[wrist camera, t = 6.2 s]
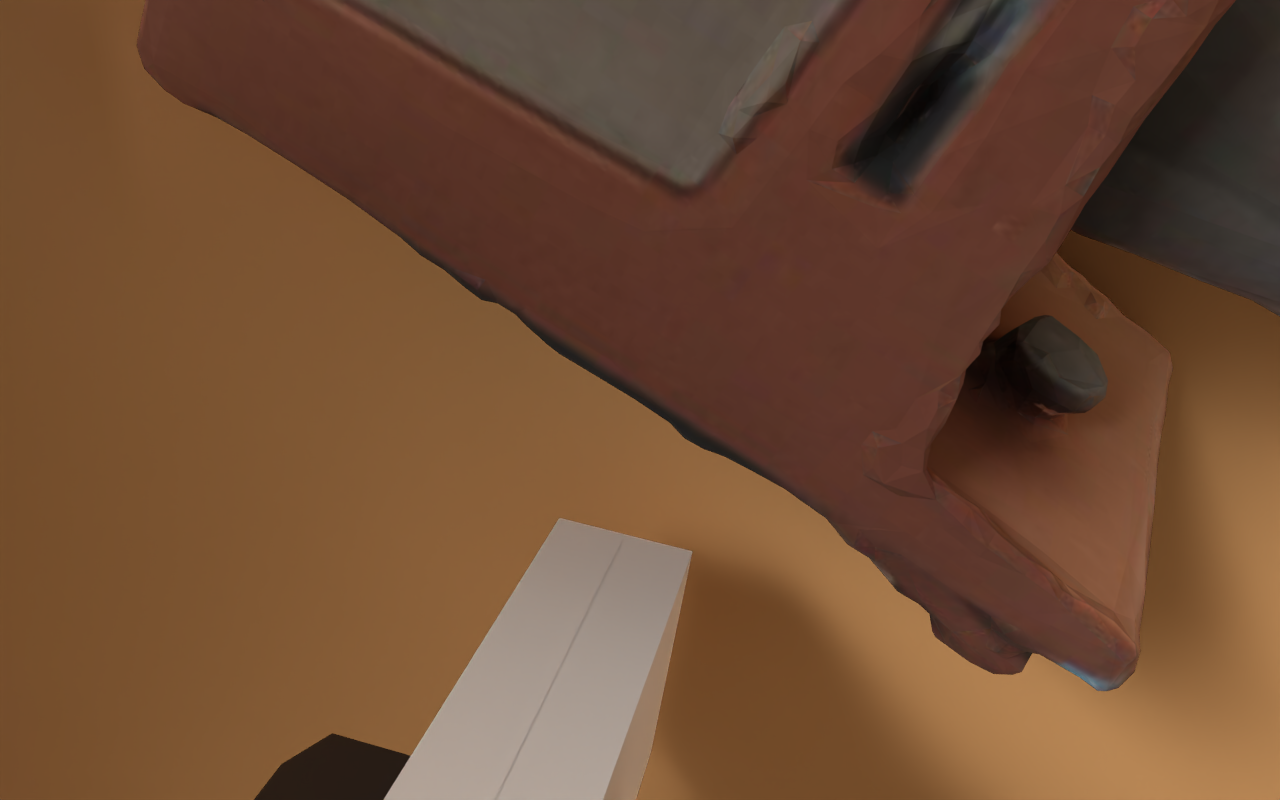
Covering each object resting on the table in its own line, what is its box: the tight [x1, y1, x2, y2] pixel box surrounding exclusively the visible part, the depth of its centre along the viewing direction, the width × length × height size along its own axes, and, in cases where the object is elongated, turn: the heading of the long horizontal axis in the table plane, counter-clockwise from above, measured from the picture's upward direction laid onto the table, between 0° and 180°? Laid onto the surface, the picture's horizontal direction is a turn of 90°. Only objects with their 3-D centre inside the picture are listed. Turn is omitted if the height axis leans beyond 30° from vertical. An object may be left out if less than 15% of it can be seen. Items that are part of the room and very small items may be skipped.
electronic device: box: [137, 0, 1280, 691], centre depth 9 cm, size 4×10×8 cm
